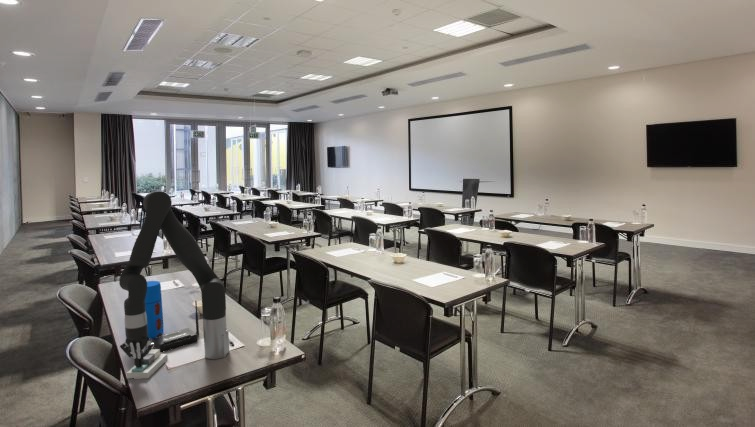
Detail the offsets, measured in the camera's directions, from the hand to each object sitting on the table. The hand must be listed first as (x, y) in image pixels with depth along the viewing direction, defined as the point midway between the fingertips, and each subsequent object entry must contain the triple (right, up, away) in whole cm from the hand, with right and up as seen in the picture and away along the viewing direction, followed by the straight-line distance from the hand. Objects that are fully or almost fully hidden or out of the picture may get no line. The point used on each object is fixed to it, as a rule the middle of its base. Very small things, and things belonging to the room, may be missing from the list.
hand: (139, 366), depth 168 cm
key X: (0, -1, +5) cm, 5 cm away
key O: (0, -3, 0) cm, 3 cm away
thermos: (-16, +1, +39) cm, 42 cm away
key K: (0, 0, +10) cm, 10 cm away
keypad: (+1, -3, +5) cm, 6 cm away
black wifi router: (+2, 0, +30) cm, 30 cm away
